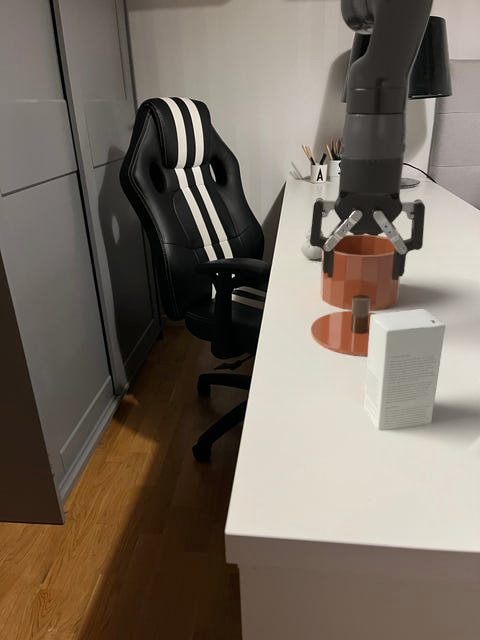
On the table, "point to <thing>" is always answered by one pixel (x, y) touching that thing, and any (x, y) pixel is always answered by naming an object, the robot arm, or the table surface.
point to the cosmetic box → (402, 368)
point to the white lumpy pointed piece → (311, 248)
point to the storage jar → (361, 273)
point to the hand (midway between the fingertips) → (361, 277)
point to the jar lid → (345, 328)
